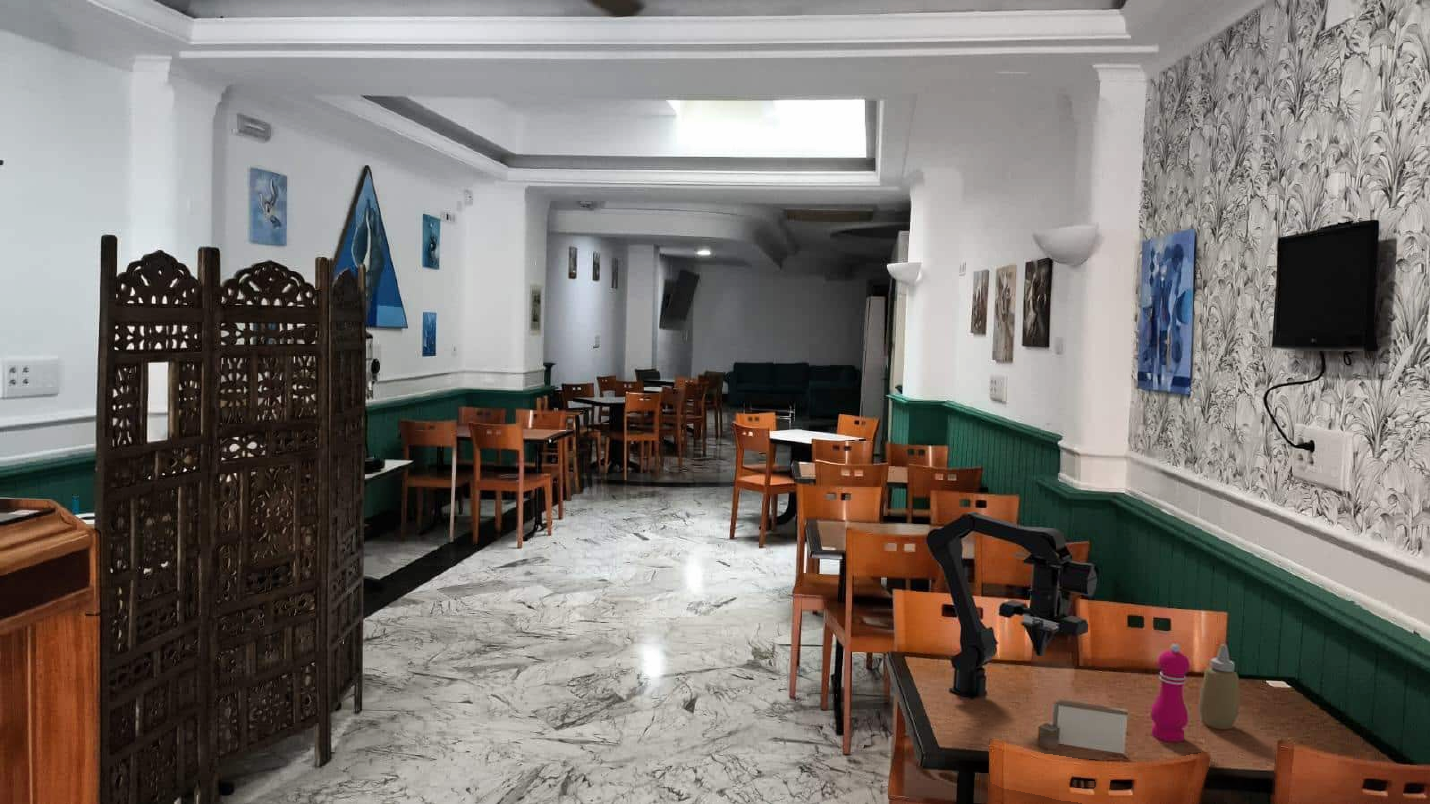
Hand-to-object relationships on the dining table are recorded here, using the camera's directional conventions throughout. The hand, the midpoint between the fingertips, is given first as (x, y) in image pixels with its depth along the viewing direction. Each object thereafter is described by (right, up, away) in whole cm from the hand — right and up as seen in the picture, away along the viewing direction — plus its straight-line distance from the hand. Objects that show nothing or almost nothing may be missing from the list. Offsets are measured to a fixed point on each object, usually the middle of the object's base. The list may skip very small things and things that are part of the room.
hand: (1039, 655), depth 218 cm
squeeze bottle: (+39, -15, -1) cm, 42 cm away
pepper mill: (+24, -15, -9) cm, 30 cm away
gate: (+4, -14, -17) cm, 23 cm away
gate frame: (+2, -14, -11) cm, 18 cm away
